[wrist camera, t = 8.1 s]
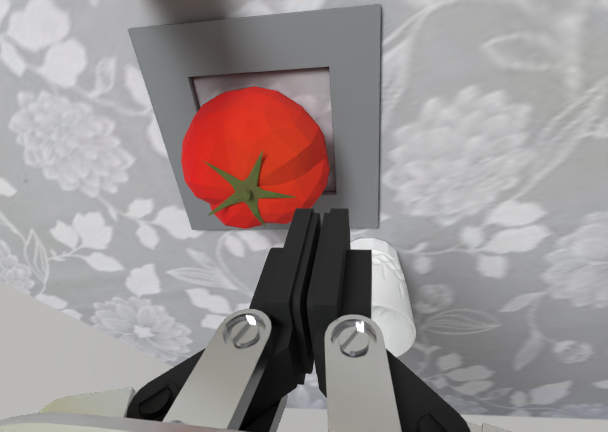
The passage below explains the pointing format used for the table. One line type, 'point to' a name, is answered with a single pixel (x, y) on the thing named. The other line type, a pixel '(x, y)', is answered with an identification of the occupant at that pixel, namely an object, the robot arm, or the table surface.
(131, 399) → the robot arm
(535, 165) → the table surface
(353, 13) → the gray picture frame
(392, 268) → the white cup
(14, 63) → the table surface
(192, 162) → the tomato
